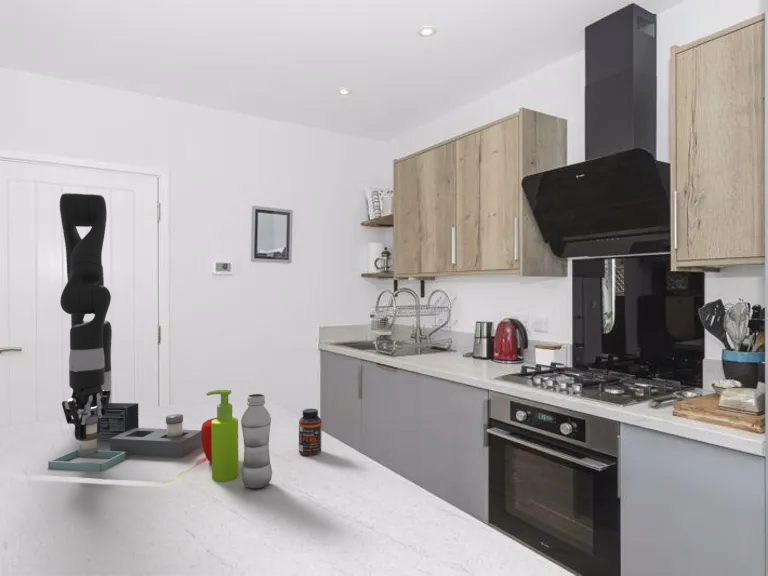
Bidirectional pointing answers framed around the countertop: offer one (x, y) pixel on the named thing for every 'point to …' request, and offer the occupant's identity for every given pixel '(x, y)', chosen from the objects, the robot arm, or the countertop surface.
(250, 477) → the plastic bottle
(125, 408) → the small box
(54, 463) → the tray
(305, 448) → the supplement bottle
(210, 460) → the apple
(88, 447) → the fuse
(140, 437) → the block
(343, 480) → the countertop surface
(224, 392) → the soap dispenser
